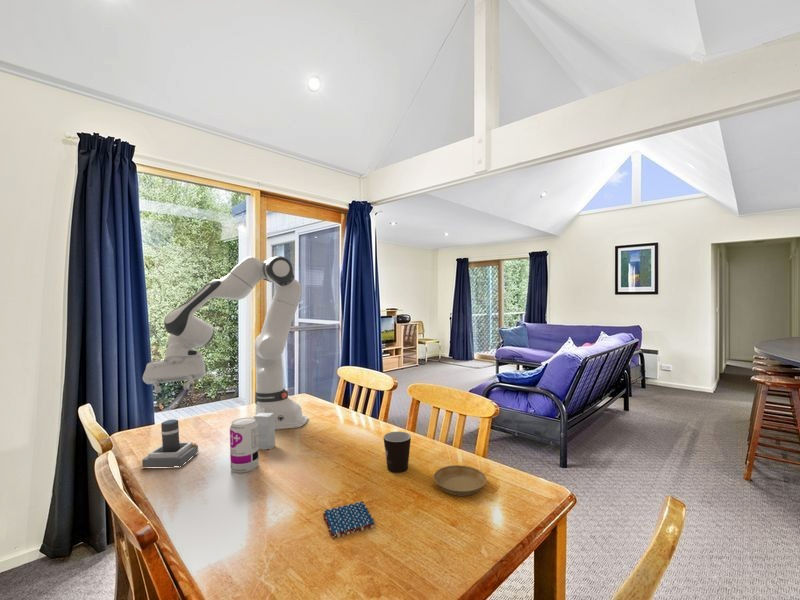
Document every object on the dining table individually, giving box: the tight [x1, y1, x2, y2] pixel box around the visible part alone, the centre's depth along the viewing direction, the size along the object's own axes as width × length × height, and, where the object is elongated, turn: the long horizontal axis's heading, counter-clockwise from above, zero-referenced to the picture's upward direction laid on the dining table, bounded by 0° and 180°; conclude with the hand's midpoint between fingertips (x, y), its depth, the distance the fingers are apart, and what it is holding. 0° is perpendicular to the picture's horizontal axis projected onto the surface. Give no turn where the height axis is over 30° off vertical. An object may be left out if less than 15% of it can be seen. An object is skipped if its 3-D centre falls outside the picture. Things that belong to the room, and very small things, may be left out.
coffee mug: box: [383, 431, 412, 474], centre depth 118 cm, size 12×9×10 cm
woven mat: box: [322, 500, 375, 539], centre depth 90 cm, size 10×11×2 cm
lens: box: [160, 418, 180, 453], centre depth 125 cm, size 5×5×10 cm
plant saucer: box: [433, 465, 487, 497], centre depth 106 cm, size 15×15×3 cm
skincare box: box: [253, 413, 276, 450], centre depth 135 cm, size 6×4×12 cm
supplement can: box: [229, 417, 260, 474], centre depth 119 cm, size 8×8×15 cm
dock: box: [141, 441, 199, 467], centre depth 125 cm, size 12×11×4 cm
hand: (171, 390), depth 135 cm, fingers open, 8 cm apart
